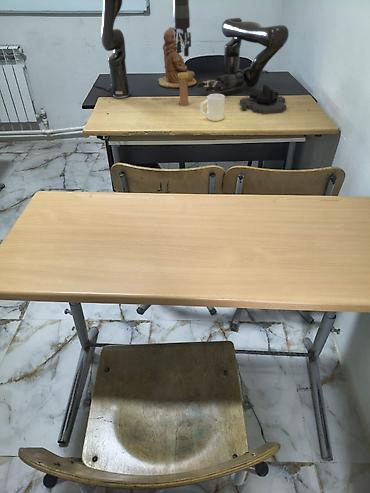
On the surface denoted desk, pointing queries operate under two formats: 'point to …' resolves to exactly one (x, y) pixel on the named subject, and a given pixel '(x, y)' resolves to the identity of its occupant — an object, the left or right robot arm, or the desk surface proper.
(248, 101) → the abstract sculpture
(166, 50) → the sculpture
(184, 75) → the lid
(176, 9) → the left robot arm
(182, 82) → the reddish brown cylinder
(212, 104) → the mug
